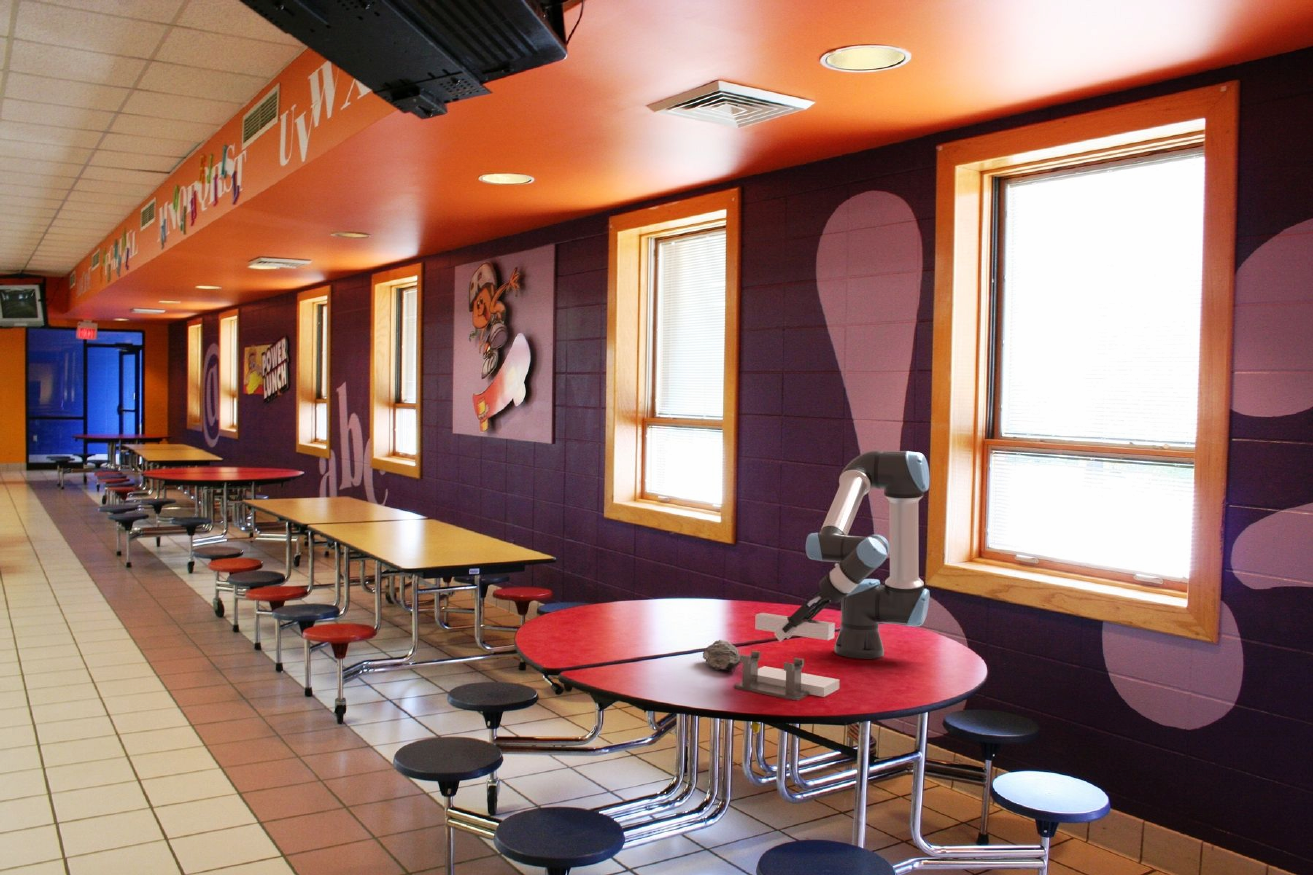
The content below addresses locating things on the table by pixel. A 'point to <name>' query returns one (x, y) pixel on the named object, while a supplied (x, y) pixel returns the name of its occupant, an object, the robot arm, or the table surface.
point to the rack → (752, 685)
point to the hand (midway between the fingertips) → (781, 636)
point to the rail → (802, 629)
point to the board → (808, 681)
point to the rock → (722, 655)
